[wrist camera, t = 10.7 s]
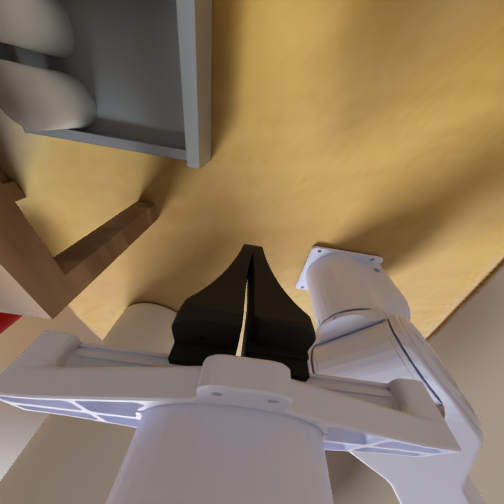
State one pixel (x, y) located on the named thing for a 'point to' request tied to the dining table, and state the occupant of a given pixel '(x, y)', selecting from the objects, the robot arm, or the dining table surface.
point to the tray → (111, 73)
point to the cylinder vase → (85, 431)
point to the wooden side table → (61, 266)
